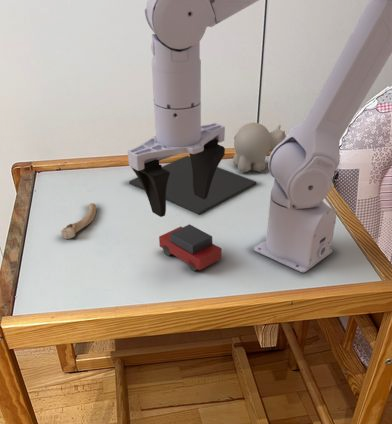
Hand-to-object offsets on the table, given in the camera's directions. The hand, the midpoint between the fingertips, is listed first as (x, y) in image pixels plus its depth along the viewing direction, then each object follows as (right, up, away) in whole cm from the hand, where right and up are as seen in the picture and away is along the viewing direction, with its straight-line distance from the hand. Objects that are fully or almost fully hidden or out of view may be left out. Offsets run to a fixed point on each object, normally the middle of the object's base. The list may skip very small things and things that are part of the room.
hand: (180, 204), depth 73 cm
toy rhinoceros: (+15, +16, +32) cm, 39 cm away
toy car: (0, -6, +5) cm, 7 cm away
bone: (-17, +1, +15) cm, 23 cm away
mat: (+2, +11, +26) cm, 28 cm away
